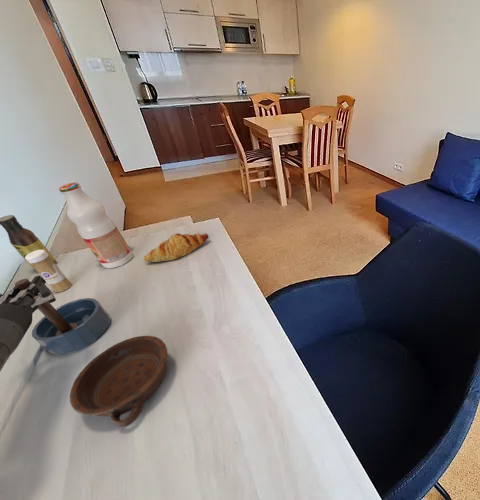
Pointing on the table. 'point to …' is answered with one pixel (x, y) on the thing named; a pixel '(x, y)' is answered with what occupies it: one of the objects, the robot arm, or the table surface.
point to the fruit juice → (96, 227)
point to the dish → (120, 379)
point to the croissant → (176, 247)
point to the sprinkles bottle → (48, 270)
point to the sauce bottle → (22, 237)
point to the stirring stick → (49, 312)
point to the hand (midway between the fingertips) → (32, 280)
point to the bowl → (88, 330)
